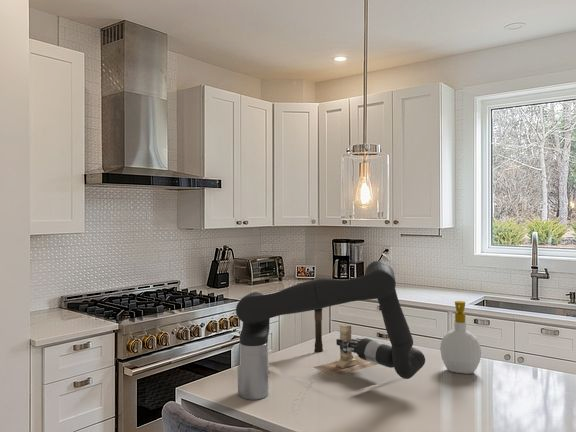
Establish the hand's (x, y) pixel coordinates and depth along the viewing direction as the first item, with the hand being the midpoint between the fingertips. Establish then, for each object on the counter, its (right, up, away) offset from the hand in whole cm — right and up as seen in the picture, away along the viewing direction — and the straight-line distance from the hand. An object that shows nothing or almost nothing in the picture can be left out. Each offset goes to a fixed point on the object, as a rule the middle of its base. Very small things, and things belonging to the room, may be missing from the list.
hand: (340, 341), depth 183 cm
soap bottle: (+44, -10, -6) cm, 45 cm away
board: (+6, -10, +1) cm, 12 cm away
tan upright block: (+2, -8, -2) cm, 9 cm away
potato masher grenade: (-7, -10, +17) cm, 21 cm away
